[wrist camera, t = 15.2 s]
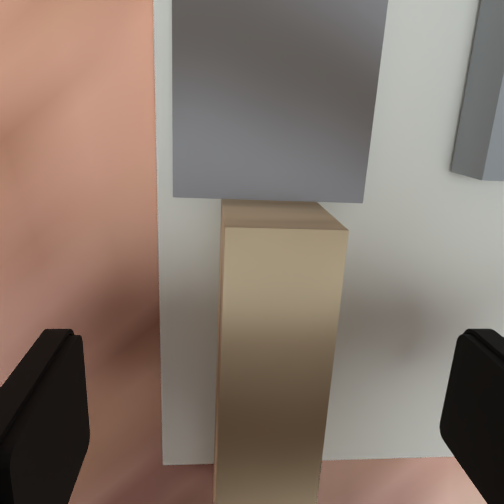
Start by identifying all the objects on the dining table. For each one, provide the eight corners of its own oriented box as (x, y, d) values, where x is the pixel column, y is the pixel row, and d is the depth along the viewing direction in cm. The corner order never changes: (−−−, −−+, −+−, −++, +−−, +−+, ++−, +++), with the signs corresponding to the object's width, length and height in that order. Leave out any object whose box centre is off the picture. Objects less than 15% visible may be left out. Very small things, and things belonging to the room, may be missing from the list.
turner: (321, 483, 15) (351, 586, 12) (175, 488, 15) (165, 596, 12) (385, -50, 11) (465, -122, 7) (173, -69, 10) (155, -155, 7)
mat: (596, 440, 17) (609, 451, 16) (164, 451, 15) (162, 465, 15) (827, -247, 11) (862, -267, 10) (149, -343, 9) (145, -373, 9)
